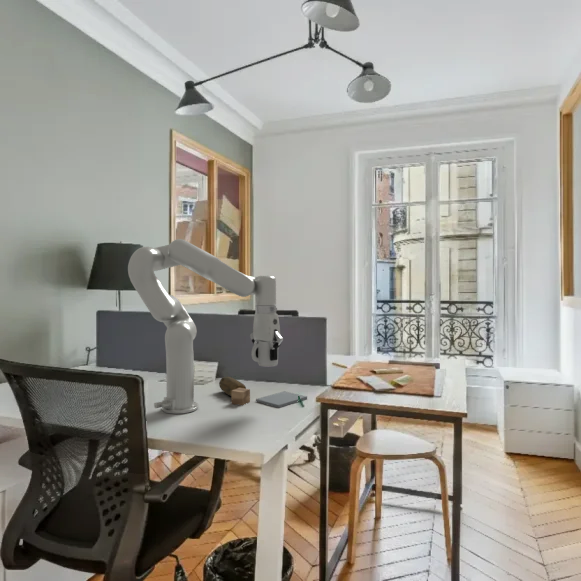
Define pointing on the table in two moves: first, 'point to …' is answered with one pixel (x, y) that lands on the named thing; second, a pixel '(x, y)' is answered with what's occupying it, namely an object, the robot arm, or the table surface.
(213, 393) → the table surface
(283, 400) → the mat
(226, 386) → the brown rounded cylinder
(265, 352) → the cup
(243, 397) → the walnut block
